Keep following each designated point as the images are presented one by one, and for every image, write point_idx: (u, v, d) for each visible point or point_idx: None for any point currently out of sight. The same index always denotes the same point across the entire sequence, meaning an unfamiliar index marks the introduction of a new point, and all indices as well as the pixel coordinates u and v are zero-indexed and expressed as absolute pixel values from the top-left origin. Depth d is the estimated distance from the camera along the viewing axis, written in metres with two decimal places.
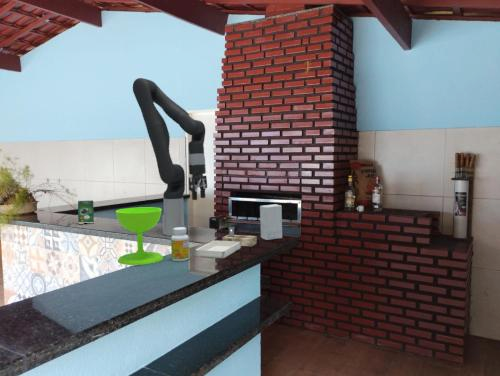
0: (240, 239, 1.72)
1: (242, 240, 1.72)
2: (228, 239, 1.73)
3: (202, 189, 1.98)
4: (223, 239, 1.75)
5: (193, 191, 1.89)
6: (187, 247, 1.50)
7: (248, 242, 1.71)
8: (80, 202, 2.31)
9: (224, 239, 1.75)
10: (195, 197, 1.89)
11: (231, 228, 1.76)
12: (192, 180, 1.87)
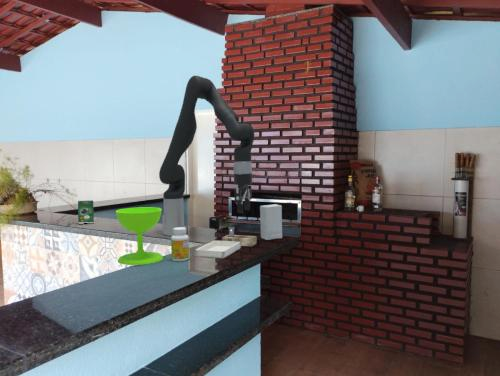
0: (240, 239, 1.72)
1: (242, 240, 1.72)
2: (228, 239, 1.73)
3: (246, 200, 1.78)
4: (223, 239, 1.75)
5: (239, 203, 1.69)
6: (187, 247, 1.50)
7: (248, 242, 1.71)
8: (80, 202, 2.31)
9: (224, 239, 1.75)
10: (241, 210, 1.69)
11: (231, 228, 1.76)
12: (239, 191, 1.67)
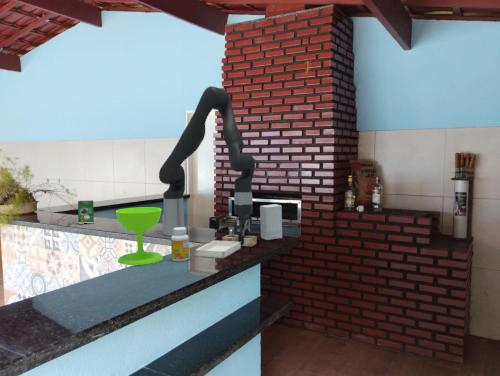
0: None
1: None
2: (228, 239, 1.73)
3: (246, 231, 1.78)
4: (223, 239, 1.75)
5: (240, 235, 1.70)
6: (187, 247, 1.50)
7: (248, 242, 1.71)
8: (80, 202, 2.31)
9: (224, 239, 1.75)
10: (242, 241, 1.71)
11: (231, 228, 1.76)
12: (239, 224, 1.68)
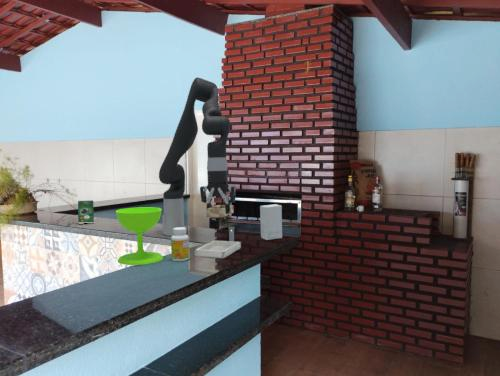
0: None
1: None
2: None
3: None
4: None
5: None
6: (187, 247, 1.50)
7: None
8: (80, 202, 2.31)
9: None
10: None
11: (231, 228, 1.76)
12: None
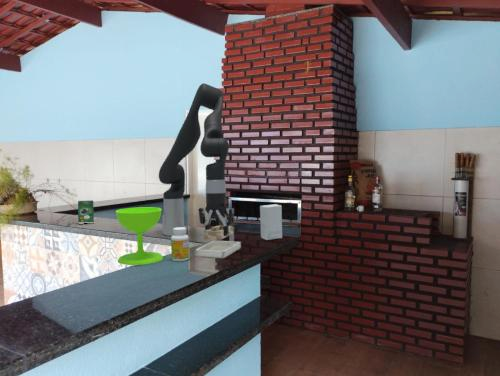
0: None
1: None
2: None
3: None
4: None
5: (205, 224, 1.60)
6: (187, 247, 1.50)
7: None
8: (80, 202, 2.31)
9: None
10: None
11: None
12: None
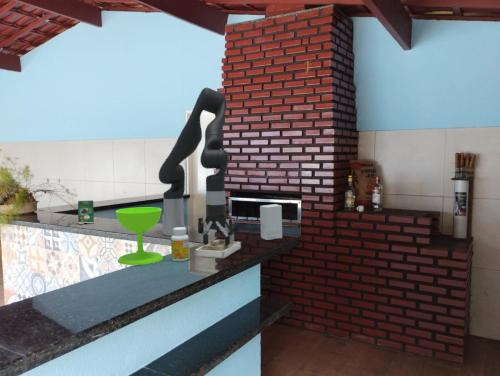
0: None
1: None
2: None
3: None
4: None
5: None
6: (186, 247, 1.50)
7: None
8: (80, 202, 2.31)
9: None
10: (204, 241, 1.60)
11: None
12: None
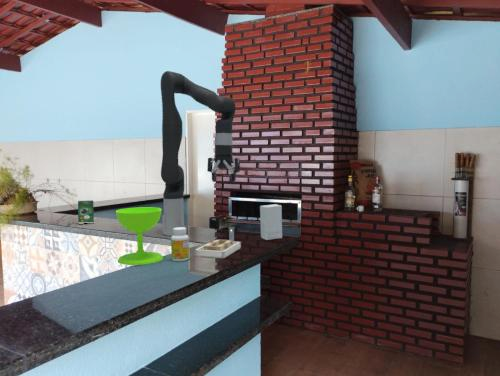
0: None
1: None
2: None
3: None
4: None
5: (211, 172, 1.82)
6: (186, 247, 1.50)
7: None
8: (80, 202, 2.31)
9: None
10: (212, 179, 1.82)
11: (231, 228, 1.76)
12: None
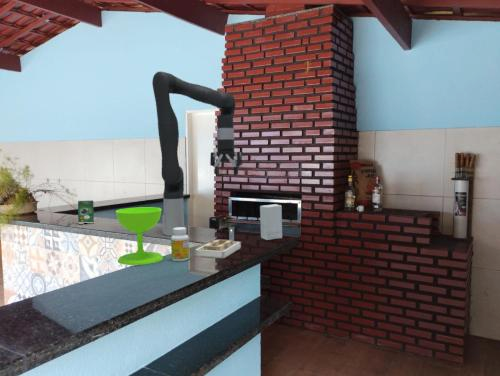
0: None
1: None
2: None
3: None
4: None
5: (214, 166, 1.88)
6: (187, 247, 1.50)
7: None
8: (80, 202, 2.31)
9: None
10: (215, 173, 1.87)
11: (231, 228, 1.76)
12: None
